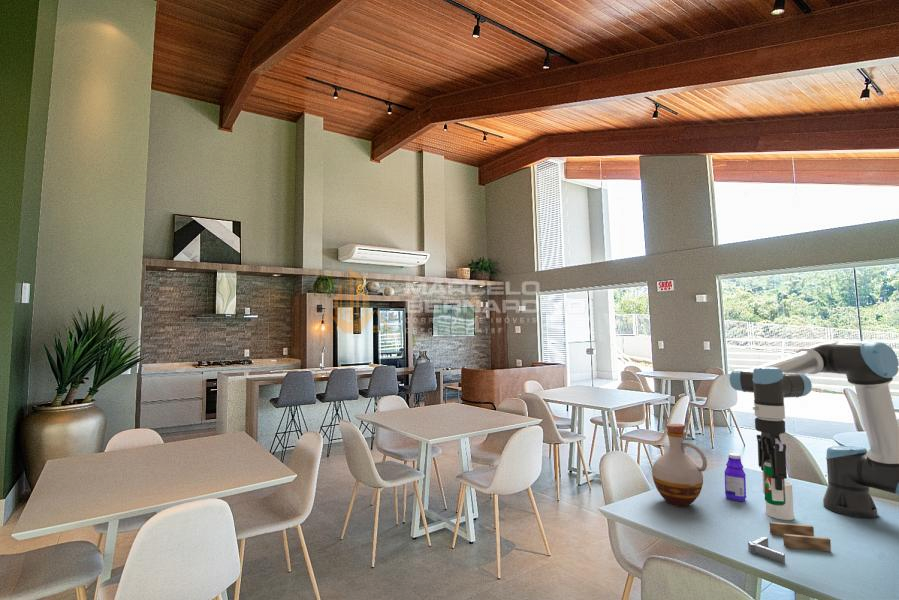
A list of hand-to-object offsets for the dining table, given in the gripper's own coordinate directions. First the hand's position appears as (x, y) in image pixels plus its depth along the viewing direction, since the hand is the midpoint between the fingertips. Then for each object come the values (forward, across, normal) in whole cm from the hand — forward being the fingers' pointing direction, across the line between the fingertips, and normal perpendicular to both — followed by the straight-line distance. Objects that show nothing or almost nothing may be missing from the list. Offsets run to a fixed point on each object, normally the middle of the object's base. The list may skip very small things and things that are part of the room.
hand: (773, 497), depth 136 cm
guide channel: (+17, -11, +11) cm, 23 cm away
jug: (+17, -37, -17) cm, 44 cm away
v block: (+17, 0, -3) cm, 17 cm away
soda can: (+2, 0, 0) cm, 2 cm away
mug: (+17, -32, +14) cm, 39 cm away
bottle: (+17, -48, +6) cm, 51 cm away
